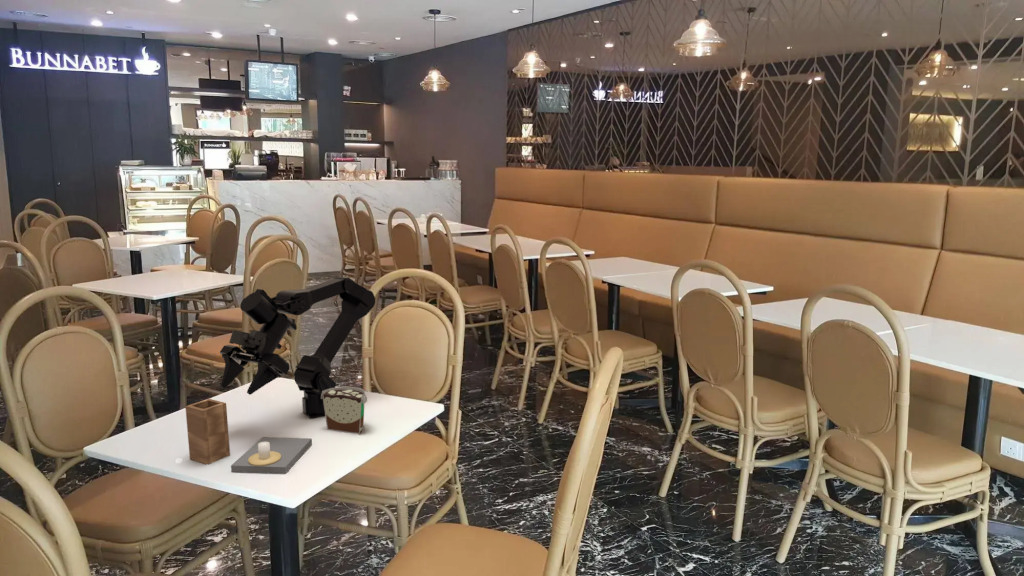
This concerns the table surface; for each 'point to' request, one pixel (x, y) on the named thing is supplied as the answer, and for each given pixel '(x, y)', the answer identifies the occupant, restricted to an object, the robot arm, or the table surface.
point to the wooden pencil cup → (207, 431)
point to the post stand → (272, 455)
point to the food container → (344, 409)
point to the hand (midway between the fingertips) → (235, 390)
